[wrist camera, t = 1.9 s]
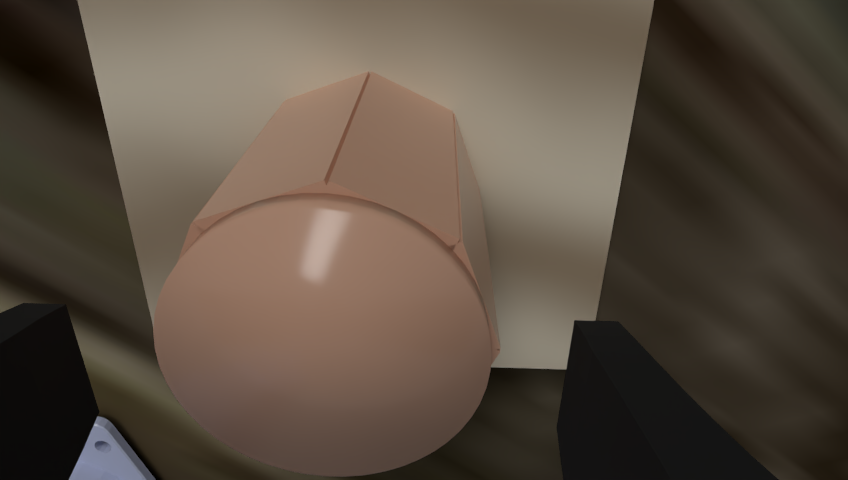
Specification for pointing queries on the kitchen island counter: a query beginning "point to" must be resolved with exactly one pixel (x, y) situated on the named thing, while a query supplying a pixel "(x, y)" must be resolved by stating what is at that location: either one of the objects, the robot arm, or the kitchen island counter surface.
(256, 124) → the board
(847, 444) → the kitchen island counter surface
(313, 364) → the wooden block
